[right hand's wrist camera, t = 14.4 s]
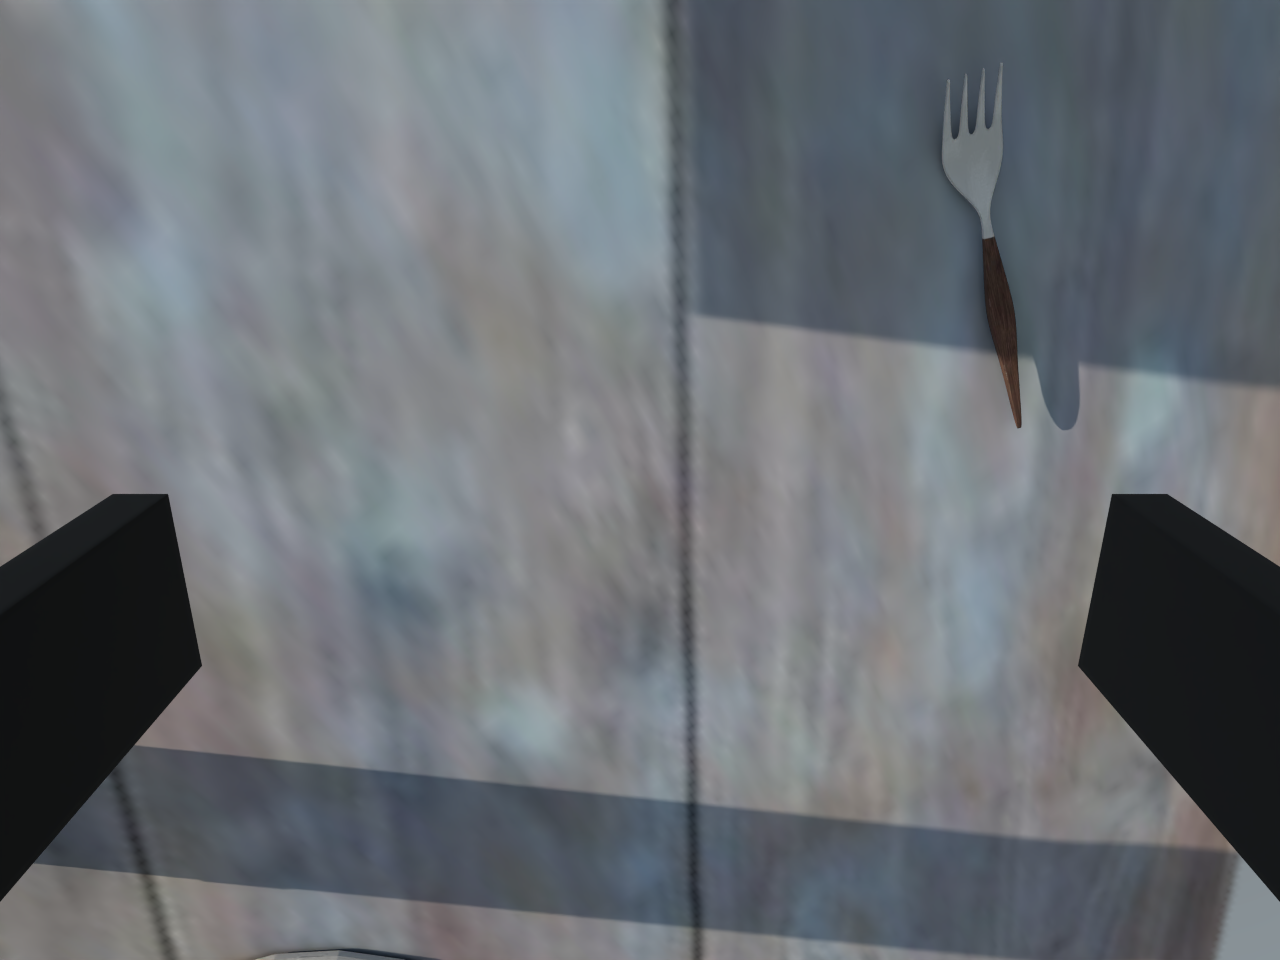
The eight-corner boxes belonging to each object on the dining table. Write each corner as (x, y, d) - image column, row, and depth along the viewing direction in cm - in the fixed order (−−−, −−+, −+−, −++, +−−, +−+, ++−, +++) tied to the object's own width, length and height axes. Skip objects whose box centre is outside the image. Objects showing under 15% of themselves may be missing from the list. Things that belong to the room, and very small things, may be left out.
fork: (987, 432, 42) (1003, 445, 41) (927, 84, 37) (942, 80, 35) (1041, 417, 42) (1060, 429, 40) (989, 64, 37) (1008, 60, 35)
